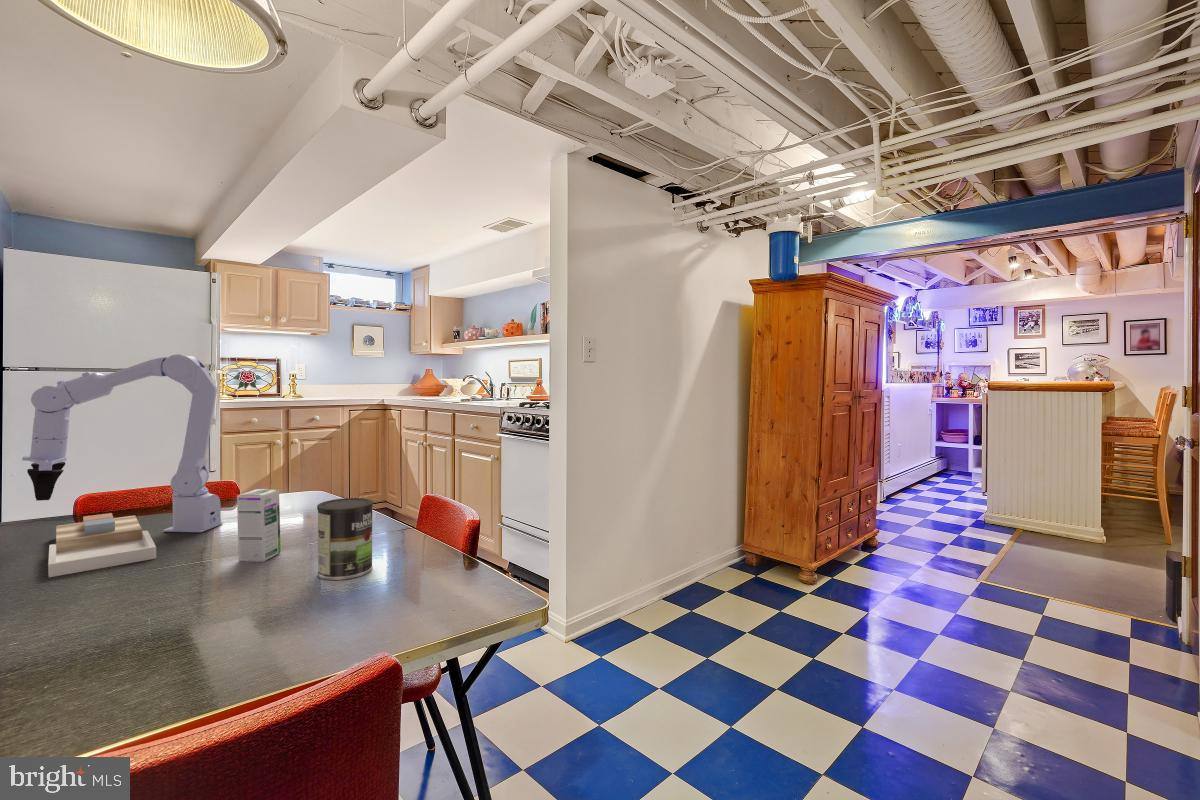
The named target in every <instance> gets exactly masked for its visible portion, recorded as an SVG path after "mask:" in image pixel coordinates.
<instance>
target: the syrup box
mask: <svg viewBox="0 0 1200 800" xmlns="http://www.w3.org/2000/svg"><path fill="white" fill-rule="evenodd" d="M236 507H237V508H236V511H237V517H236V518H237V541H238V544H237V548H238V549H237V550H238V552H237V553H238V561H240V562H252V563H254V562H257V563H260V562H261V563H264V562H266V561H267V560H269V559H271V558H273V557H275V556H277V555H279V554H280V553H281V551H282V549H281V517H280V516H281V515H280V513H281V512H280V511H281V510H280V490H279V489H276V488H275V489H273V488H258V489H254V490H253V489H252V490H250V491H247V492H244V493H241V494H237V495H236Z"/></svg>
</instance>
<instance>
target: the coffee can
mask: <svg viewBox="0 0 1200 800" xmlns="http://www.w3.org/2000/svg"><path fill="white" fill-rule="evenodd" d="M373 506H374V500H372V499H370V498H363V497H346V498H335V499H329V500H326V501H325V500H324V501H323V502H320V503H318V504H317V506H316V509H317V552H318V553H317V577H319V578H320V579H322V580H327V581H345V580H351V578H352V579H356V578H359V577H362V576H365V575H367V574H369V573H370V572H371V571H372V570H373V567H374V566H373ZM368 572H369V573H368ZM366 573H367V574H366ZM364 574H365V575H364ZM361 575H362V576H361ZM355 577H356V578H355Z"/></svg>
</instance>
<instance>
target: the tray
mask: <svg viewBox="0 0 1200 800" xmlns="http://www.w3.org/2000/svg"><path fill="white" fill-rule="evenodd" d="M155 559H157V546H156V544H155V542H154V540H153V539H152V536H151V534H150V532H149V531H148V530H142V540H137V541H131V542H124V543H118V544H111V545H105V546H98V547H92V548H85V549H79V550H73V551H66V552H60V553H56V543H53V544H49V547H48V563H47V567H48V568H47V569H48V571H47V573H48V578H52V577H59V576H63V575H64V576H65V575H70V574H74V573H75V574H76V573H80V572H81V573H82V572H87V571H93V570H99V569H104V568H109V567H114V566H115V567H116V566H120V565H126V564H127V565H128V564H133V563H138V562H145V561H148V560H155Z"/></svg>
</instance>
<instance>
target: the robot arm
mask: <svg viewBox="0 0 1200 800" xmlns="http://www.w3.org/2000/svg"><path fill="white" fill-rule="evenodd" d="M148 377H149V378H150V377H167V378H169V379H171V380H173V381H175V382H177V383H179V384H180V385H182V386H183V387H184V388H185V389H186V390H187V391H189V393H191V395H192V396H191V401H190V408H189V414H188V418H187V426H186V431H185V432H186V433H185V437H184V442H183V443H184V444H183V449H182V455H181V458H180V461H179V464H178V467H177V471H176V472H175V474H174V475H173V476H172V477H171V480H170V487H171V489H172V491H173V492H172V526H170V527H167V528H164V529H163V532H164V533H166V532H167V533H203V532H205V531H209V530H210V529H213V528H216V527H218V526H221V525H223V524H224V522H223V521H222V520H221V516H222V515H221V513H222V512H221V511H222V510H221V500H220V497H219V496H218V495H217V494H214V493H210V492H209V488H207V487H206V484H207V483H208V480H209V477H210V475H209V471H208V469H207V462H208V461H207V460H208V459H207V452H208V446H209V439H210V434H211V433H210V432H211V428H212V422H213V415H214V411H215V410H214V409H215V405H216V398H217V392H218V388H217V385H216V383H215V382H214V380H213V378H212V377H211V374H210V373H209V371H208V368H207V366H206V364H204V363H203V362H202V361H201V360H199V359H198V358H197V357H195V356H192V355H189V354H188V355H187V354H186V355H185V354H181V353H180V354H179V353H178V354H172V355H169V356H164V357H158V358H152V359H149V360H146V361H144V362H140V363H137V364H134V365H132V366H128V367H125V368H124V369H123V368H122V369H120V370H117V371H115V372H111V373H109V374H103V373H100V372H91V371H86V372H82V373H81V376H79V377H76V378H73V379H70V380H66V381H64V380H60V381H59V380H58V381H57V382H56V385H55V386H54V385H44V386H42V387H40V388H38V389H37V390H34V392H33V393H32V394H31V397H30V402H31V404H32V406H33V407H34V408H35V409H34V418H33V424H32V425H33V426H32V435H31V443H30V444H31V447H30V455H27V456H26V455H25V456H22V459H21V461H28V462H31V463H30V466H31V468H28V469H27V475H28V476H29V478H30V479H31V483H32V485H33V491H34V492H33V493H34V497H35V501H38V502H40V501H50V499H51V498H52V496H53V492H54V490H55V486H56V483H57V481H58V479H59V477H60V476H61V475H62V473H64V469H63V468H64V467H65V466H66V461H67V459H68V457H67V449H68V448H67V447H68V436H69V427H70V412H71V408H73V407H74V406H77V405H81V404H83V403H87V402H89V401H92V400H96V399H99V398H102V397H105V396H108V395H110V394H111V393H112V390H113V389H114V388H115V387H118V386H121V385H124V384H128V383H131V382H132V383H133V382H135V381H138V380H141V379H145V378H148Z"/></svg>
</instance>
